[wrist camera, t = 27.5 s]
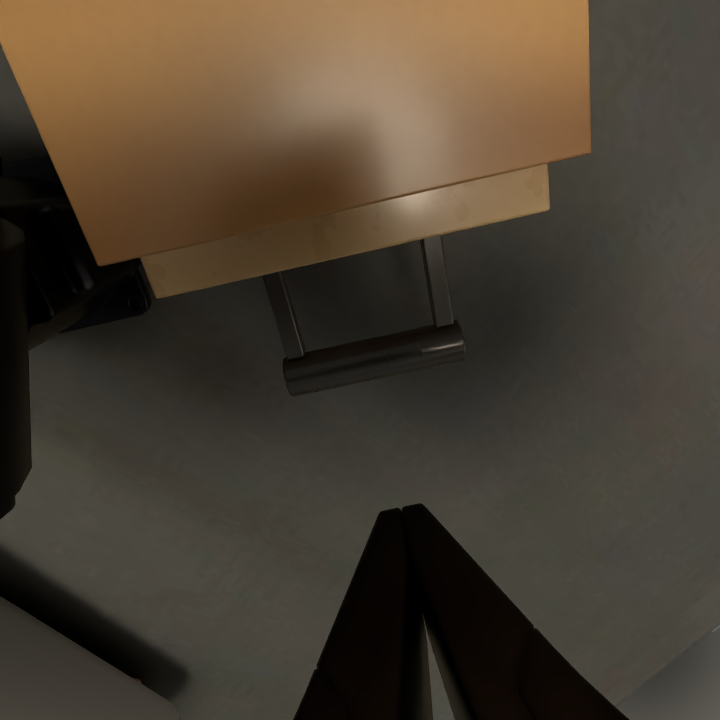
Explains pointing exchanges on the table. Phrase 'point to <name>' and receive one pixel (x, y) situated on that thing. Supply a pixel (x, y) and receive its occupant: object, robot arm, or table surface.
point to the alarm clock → (65, 678)
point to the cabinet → (288, 105)
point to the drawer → (349, 237)
